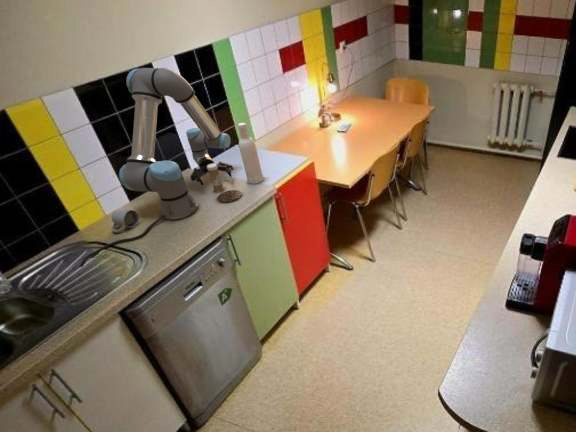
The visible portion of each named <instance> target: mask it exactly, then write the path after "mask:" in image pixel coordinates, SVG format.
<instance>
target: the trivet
mask: <svg viewBox="0 0 576 432" xmlns="http://www.w3.org/2000/svg"><path fill="white" fill-rule="evenodd" d="M242 195H243V194H242V192H241V191H240V190H236V189H232V190H226V191H223V192H221V193H220V194H218V196H217V201H218V202H219V203H221V204H230V203H234V202H236V201H238V200H239V199H240V198H242Z"/></svg>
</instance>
